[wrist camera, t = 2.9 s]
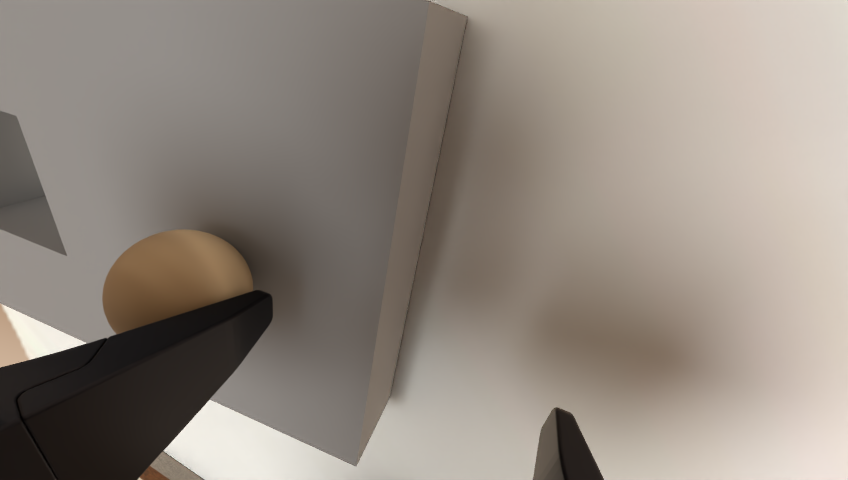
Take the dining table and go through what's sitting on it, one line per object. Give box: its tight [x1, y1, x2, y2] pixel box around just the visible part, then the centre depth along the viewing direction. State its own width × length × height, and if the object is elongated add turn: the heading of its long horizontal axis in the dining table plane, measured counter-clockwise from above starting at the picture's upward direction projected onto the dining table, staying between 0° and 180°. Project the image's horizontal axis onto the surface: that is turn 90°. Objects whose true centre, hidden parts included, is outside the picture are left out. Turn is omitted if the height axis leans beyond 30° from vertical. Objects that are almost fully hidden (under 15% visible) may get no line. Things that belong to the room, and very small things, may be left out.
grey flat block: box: [0, 0, 467, 466], centre depth 14 cm, size 16×22×4 cm
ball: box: [102, 229, 253, 334], centre depth 10 cm, size 4×4×4 cm
